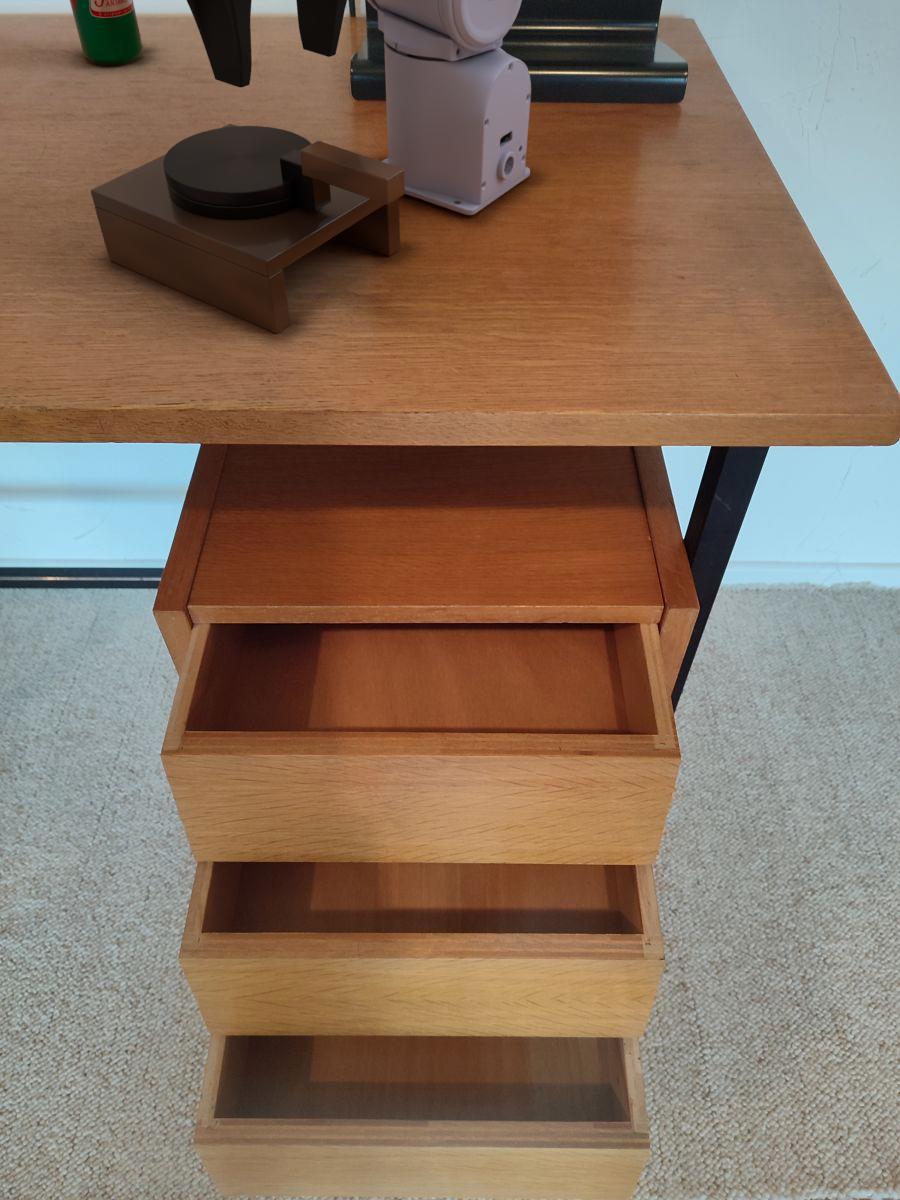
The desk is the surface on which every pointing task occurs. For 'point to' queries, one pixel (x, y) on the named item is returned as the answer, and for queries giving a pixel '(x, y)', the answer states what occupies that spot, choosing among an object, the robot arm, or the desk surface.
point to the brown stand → (229, 242)
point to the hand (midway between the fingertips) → (277, 66)
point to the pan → (269, 173)
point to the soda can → (107, 30)
